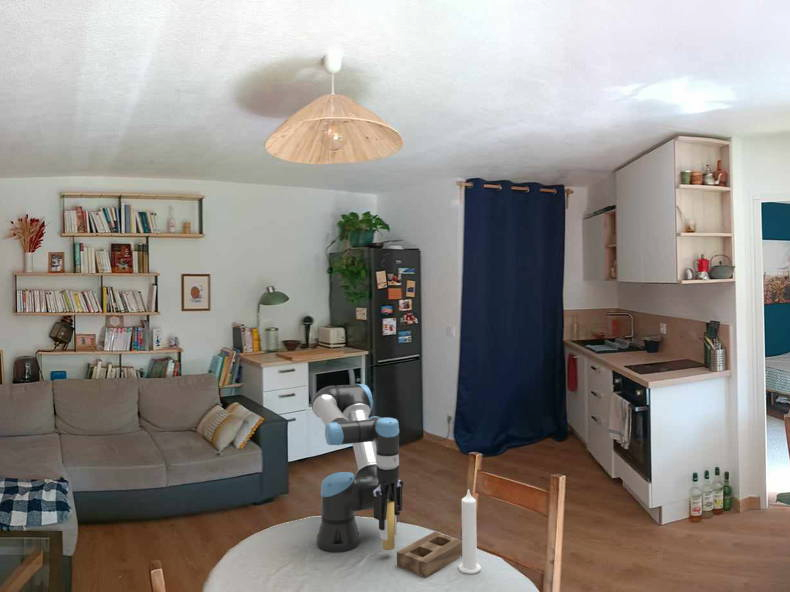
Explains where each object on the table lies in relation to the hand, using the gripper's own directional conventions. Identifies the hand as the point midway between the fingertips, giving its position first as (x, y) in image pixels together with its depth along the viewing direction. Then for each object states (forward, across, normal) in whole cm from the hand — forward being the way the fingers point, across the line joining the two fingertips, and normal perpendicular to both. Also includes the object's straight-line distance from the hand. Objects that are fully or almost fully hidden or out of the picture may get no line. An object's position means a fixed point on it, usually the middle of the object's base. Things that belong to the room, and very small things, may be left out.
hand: (388, 536), depth 189 cm
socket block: (+7, +7, -12) cm, 16 cm away
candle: (+7, +10, -26) cm, 28 cm away
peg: (+4, 0, 0) cm, 4 cm away
